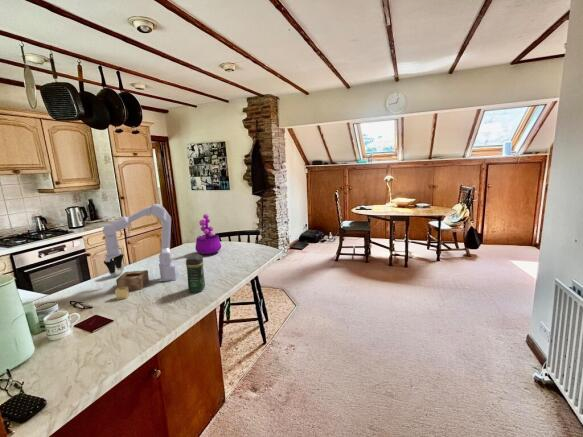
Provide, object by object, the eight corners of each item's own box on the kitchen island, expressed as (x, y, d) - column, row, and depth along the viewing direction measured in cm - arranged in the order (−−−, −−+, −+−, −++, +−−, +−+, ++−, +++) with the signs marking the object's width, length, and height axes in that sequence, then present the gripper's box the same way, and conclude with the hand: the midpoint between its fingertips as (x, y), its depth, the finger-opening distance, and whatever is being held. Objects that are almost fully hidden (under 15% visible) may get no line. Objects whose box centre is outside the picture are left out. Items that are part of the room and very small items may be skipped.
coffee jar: (202, 292, 149) (199, 258, 146) (186, 293, 149) (183, 259, 145) (206, 285, 159) (204, 252, 155) (192, 286, 158) (189, 253, 155)
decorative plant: (207, 258, 207) (204, 216, 201) (190, 254, 217) (186, 215, 211) (226, 251, 222) (223, 212, 217) (210, 248, 232) (207, 211, 227)
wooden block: (129, 296, 148) (128, 286, 147) (127, 298, 145) (125, 289, 144) (118, 297, 147) (117, 287, 147) (116, 299, 145) (114, 290, 144)
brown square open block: (148, 280, 168) (147, 270, 167) (141, 289, 156) (140, 277, 155) (126, 282, 166) (125, 271, 165) (117, 291, 154) (116, 279, 153)
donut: (113, 279, 172) (110, 263, 170) (108, 278, 173) (106, 262, 171) (126, 273, 181) (124, 257, 180) (121, 272, 182) (119, 257, 180)
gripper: (110, 243, 162) (114, 266, 164) (97, 250, 148) (101, 275, 150) (124, 242, 163) (127, 265, 165) (112, 249, 149) (115, 274, 151)
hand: (115, 270), depth 158 cm, fingers open, 7 cm apart
